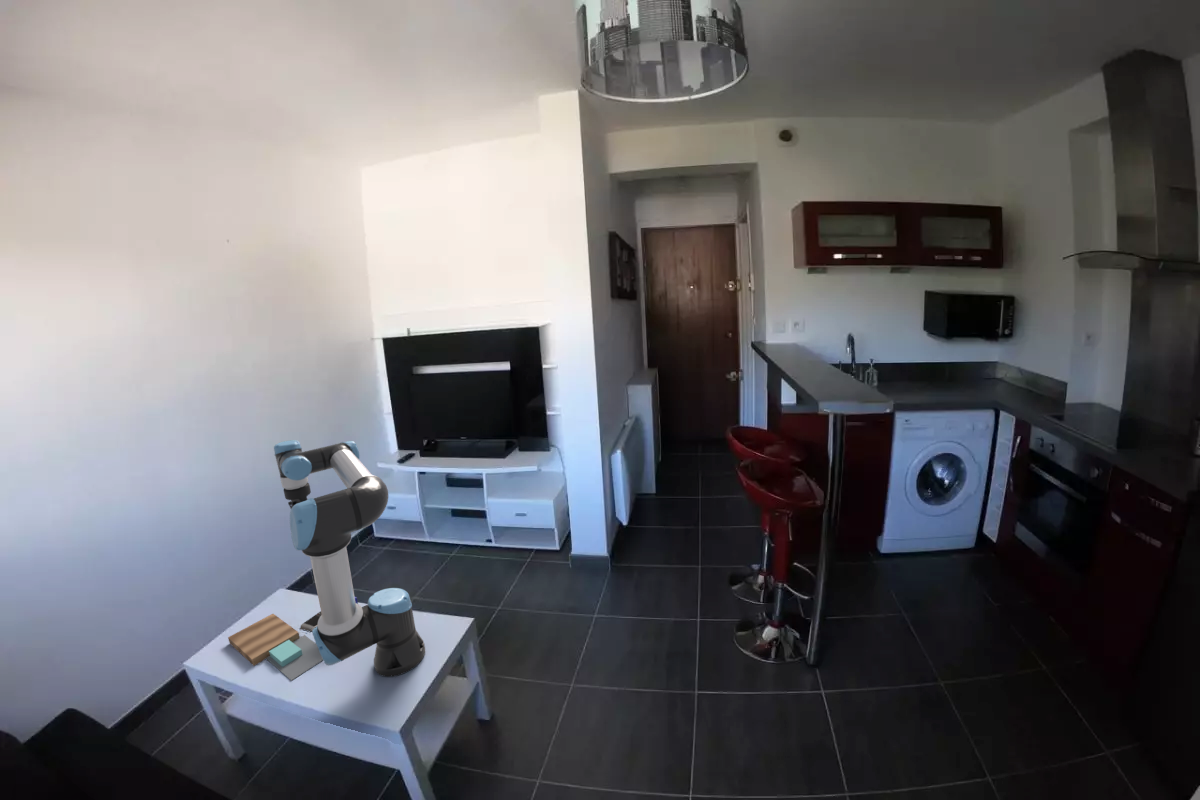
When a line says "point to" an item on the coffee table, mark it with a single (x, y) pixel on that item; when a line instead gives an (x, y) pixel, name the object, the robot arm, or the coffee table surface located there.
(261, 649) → the wooden board
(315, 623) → the cell phone
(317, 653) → the mat
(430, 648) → the coffee table surface
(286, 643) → the teal rectangular block
